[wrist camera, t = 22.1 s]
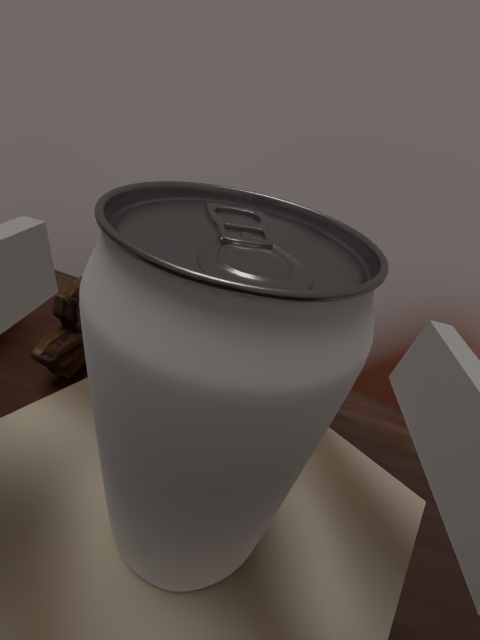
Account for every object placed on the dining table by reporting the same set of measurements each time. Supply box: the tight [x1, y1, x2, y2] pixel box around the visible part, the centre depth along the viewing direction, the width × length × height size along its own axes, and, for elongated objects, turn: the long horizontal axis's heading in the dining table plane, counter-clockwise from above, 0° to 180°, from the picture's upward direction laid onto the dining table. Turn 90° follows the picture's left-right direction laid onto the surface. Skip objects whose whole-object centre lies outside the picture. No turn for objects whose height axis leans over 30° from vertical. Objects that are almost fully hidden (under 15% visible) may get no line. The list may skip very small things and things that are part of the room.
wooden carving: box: [31, 276, 86, 378], centre depth 35 cm, size 16×5×10 cm, turn 163°
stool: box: [0, 378, 426, 640], centre depth 17 cm, size 17×17×14 cm
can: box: [79, 181, 388, 592], centre depth 9 cm, size 6×6×12 cm
